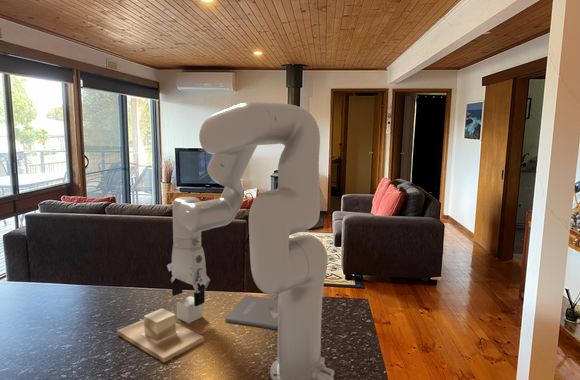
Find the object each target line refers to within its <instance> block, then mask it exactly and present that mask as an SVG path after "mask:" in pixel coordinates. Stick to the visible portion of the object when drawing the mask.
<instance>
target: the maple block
mask: <svg viewBox="0 0 580 380" xmlns="http://www.w3.org/2000/svg"><path fill="white" fill-rule="evenodd" d="M143 319H144V330H145V335H147V336H149V337H151V338H153V339H154V340H156V341H159V340H161V339H163V338H165V337H167V336H170V335H172V334H174V333H176V314H175V313H173V312H171V311H169V310H167V309H164V308H159V309H158V310H155V311H153V312H150V313H148V314H147V313H146V314H145V315H143Z"/></svg>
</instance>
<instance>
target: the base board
mask: <svg viewBox="0 0 580 380" xmlns="http://www.w3.org/2000/svg"><path fill="white" fill-rule="evenodd" d="M116 331H117V332H116V333H117V336H119V337H121V338H122V339H124V340H125V341H127V342H128V343H131V344H132V345H134V346H135V347H137V348H139V349H140V350H142V351H144V352H145V353H147V354H149V355H150V356H152V357H154V358H155V359H157V360H158V359H159V360H158V361H160V362H161V363H163V364H164V363H167V362H168V361H170V360H172V359H174V358H176V357H177V356H179V355H181V354H183V353H185V352H186V351H188V350H190V349H192V348H194V347H196V346H198V345H200V344H201V343H203V342H205V337H204V336H203V335H201V334H199V333H197V332H195V331H193V330H190V328H187V327H185V326H183V325H181V324H178V323H176V333H174V334H172V335H170V336H167V337H165V338H163V339H161V340H159V341H156V340H154V339H153V338H151V337H149V336H147V335H145V330H144V318H143V319H141V320H139V321H136V322H134V323H132V324H129V325H127V326H124V327H122V328H120V329H117V330H116ZM175 356H176V357H175ZM173 357H174V358H173Z"/></svg>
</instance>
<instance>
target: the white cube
mask: <svg viewBox="0 0 580 380" xmlns="http://www.w3.org/2000/svg"><path fill="white" fill-rule="evenodd" d="M176 315H177V316H176V318H177V319H179V320H181V321H183V322H184V323H187V324H191V323H193V322H195V321H197V320H199V319H200V318H203V304H201V305H199V306H194V296H192V295H190V296H187V297H184V298H183V299H180V300H178V301H176Z"/></svg>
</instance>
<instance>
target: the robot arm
mask: <svg viewBox="0 0 580 380" xmlns="http://www.w3.org/2000/svg"><path fill="white" fill-rule="evenodd" d="M320 133H321V132H320V127H319V124H318V123H317V120H316V119H315V117H314V116H313V114H311V113H310V112H309V111H308V110H306V109H305V108H303V107H301V106H298V105H294V104H291V103H290V104H289V103H281V102H261V101H248V102H247V101H246V102H242V103H239V104H237V105H233V106H231V107H229V108H227V109H223V110H221V111H219V112H218V111H217V112H215V113H214V114H211V115H210V116H209V117H207V118H206V119H205V120H204V121H203V123H202V125H201V126H200V130H199V135H198V140H199V143H200V146H201V148H202V150H203V151H205V152H206V153H207V154H210V155H211V158H210V160H209V163H208V164H207V168H206V169H207V174H208V175H209V177H210V178H211V180H212V181H214V182H215V183H217V184H219V185H220V186H222V187H224V188H223V191H222V193H221V195H220V197H219V198H216V199H210V200H204V201H201V200H200V199H199V198H198V197H196V196H195V197H194V196H179V197H176V198H175V199H173V201H172V234H173V235H172V239H173V243H172V252H171V263H168V264H167V265H166V267H167V270H168V275H169V276H170V282H171V296H172V297H176V296H178V295H180V294H182V293H183V282H184V283H186V284H189V285H190V286H191V285H192V287H193V289H194V291H195V292H193V297H194V306H199V305H201V304H202V305H203V304H204V303H205V301H206V300H205V298H206V297H205V292H206V291H207V289H208V287H209V284H210V282H211V279H210V277H209V276H208V275H207V268H206V267H207V266H206V257H205V251H204V248H203V246H202V232H205V231H209V230H211V229H215V228H220V227H225V226H227V225H229V224H231V222H233V220H235V218H236V216H237V215H238V213H239V210H240V209H241V207H242V205H243V201H244V188H243V187H244V186H243V183H242V181H241V179H242V177H243V175H244V173H245V170H246V168H247V167H248V165H249V163H250V160H251V159H252V156H253V155H254V153H255V151H256V149H257V147H258V146H263V145H267V146H268V145H283V146H284V148H283V150H281V153H280V154H281V155H280V156H279V160H278V163H277V177H278V178H277V188H276V189H271V190H265V191H263V192H261V193H260V194H258V195H257V196H256V197H255V198H254V199H253V201H252V203H251V205H250V208H249V212H248V235H249V236H248V237H249V260H250V270H251V271H250V272H251V275H252V279H253V282H254V283H255V285H256V286H257V288H258V289H259V290H260V291H261V292H262V293H265V294H266V295H272V296H273V295H275V296H276V295H278V298H277V299H278V329H277V343H276V344H277V347H276V349H277V352H276V353H277V356H276V357H277V359H276V360H274V361H273V362H272V364H271V366H270V370H269V373H270V374H269V375H270V378H271V380H335V378H334V375H335V370H334V369H331V368H330V367H327V366H326V365H325V361H326V359H325V357H324V356H321V350H322V349H321V346H322V345H321V343H322V340H321V339H322V312H323V294H324V284H325V279H326V275H327V270H328V263H329V261H328V260H329V258H328V252H327V249H326V247H325V245H324V244H323V242H322V241H321V240H320V239H319V238H317V237H315V236H313V235H310V234H309V235H308V234H303V235H302V234H301V235H296V234H298V233H301V232H304V231H305V232H306V231H307V230H309V229H312V228H313V227H314V226H315V225H317V223H318V222H319V220H320V214H321V213H320V212H321V199H320V198H321V193H320V188H321V187H320V165H319V164H320V148H321V135H320ZM292 235H296V236H293V237H290V236H292ZM198 284H199V285H200V286H198Z"/></svg>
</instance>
